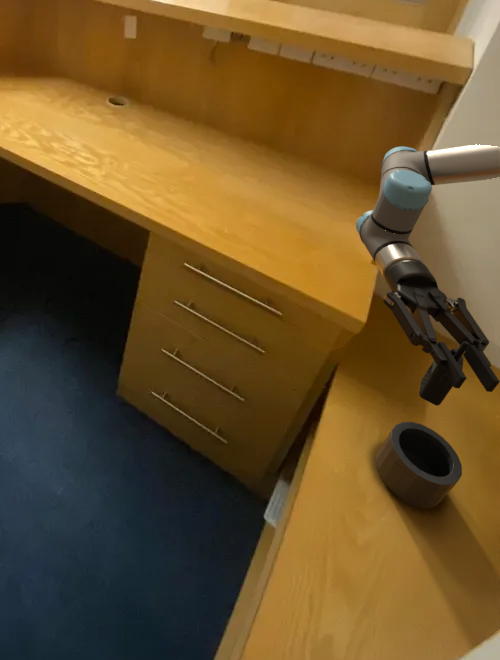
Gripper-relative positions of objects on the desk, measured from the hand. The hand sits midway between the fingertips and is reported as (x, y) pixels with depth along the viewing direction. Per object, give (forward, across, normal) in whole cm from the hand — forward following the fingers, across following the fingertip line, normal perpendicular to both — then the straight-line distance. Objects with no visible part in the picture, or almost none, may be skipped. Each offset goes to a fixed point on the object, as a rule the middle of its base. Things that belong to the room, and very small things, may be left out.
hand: (476, 384), depth 79 cm
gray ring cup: (+3, +3, -23) cm, 23 cm away
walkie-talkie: (-5, 0, -11) cm, 12 cm away
